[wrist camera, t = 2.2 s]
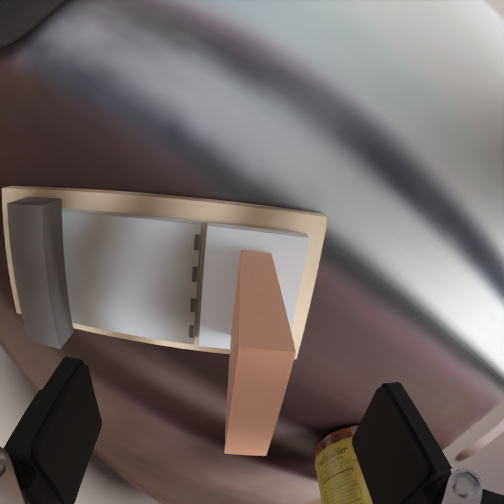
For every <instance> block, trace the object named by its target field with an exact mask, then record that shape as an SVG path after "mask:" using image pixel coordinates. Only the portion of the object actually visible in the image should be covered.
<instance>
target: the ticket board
mask: <svg viewBox="0 0 504 504" xmlns="http://www.w3.org/2000/svg"><path fill="white" fill-rule="evenodd" d="M2 209H3V225H4V236H5V246H6V254H7V262H8V269H9V275H10V281H11V287H12V292H13V297H14V302H15V307H16V311H17V313H19V314H22V318H23V322H24V326H25V330H26V334H27V338H28V340H31V341H34V342H37V343H40V344H43V345H47V346H50V347H54V348H57V349H61V348H62V346H63V345H64V344H65V343H66V341H67V340H68V339H69V337H70V336H71V335H72V334H73V332H74V330H73V328H76V329H80V330H84V331H89V332H93V333H98V334H103V335H107V336H112V337H117V338H123V339H128V340H133V341H139V342H145V343H150V344H156V345H163V346H169V347H176V348H183V349H190V350H198V351H206V352H214V353H223V354H230V349H222V348H213V347H204V346H199V333H200V316H201V300H202V286H203V272H204V260H205V248H206V236H207V226H208V224H209V222H212V223H221V224H230V225H239V226H247V227H256V228H264V229H272V230H280V231H288V232H296V233H304V234H307V235H308V237H309V244H308V249H307V254H306V260H305V265H304V270H303V275H302V280H301V285H300V290H299V294H298V299H297V304H296V309H295V313H294V318H293V322H292V327H291V333H292V338H293V342H294V346H295V350H296V353H295V357H294V359H297V355H298V352H299V348H300V344H301V340H302V336H303V332H304V328H305V324H306V319H307V315H308V311H309V307H310V302H311V298H312V294H313V289H314V285H315V280H316V276H317V271H318V266H319V261H320V257H321V252H322V247H323V242H324V237H325V231H326V226H327V221H328V217H327V216H326V215H325V214H323V213H316V212H309V211H302V210H295V209H288V208H280V207H273V206H265V205H257V204H249V203H240V202H232V201H223V200H214V199H204V198H195V197H184V196H174V195H163V194H151V193H139V192H126V191H112V190H97V189H80V188H60V187H35V186H8V187H5V188H2Z"/></svg>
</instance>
